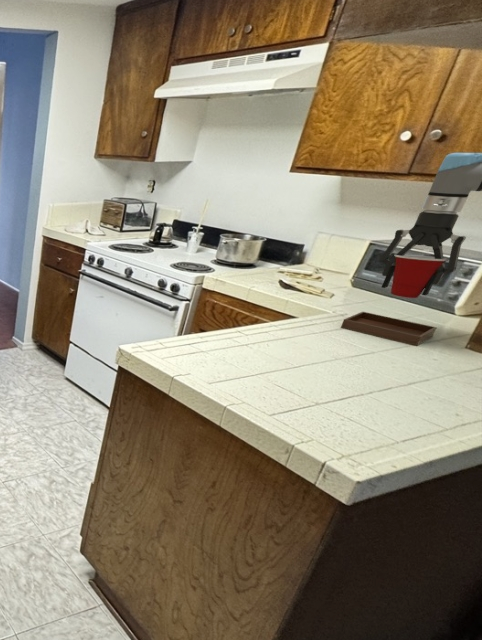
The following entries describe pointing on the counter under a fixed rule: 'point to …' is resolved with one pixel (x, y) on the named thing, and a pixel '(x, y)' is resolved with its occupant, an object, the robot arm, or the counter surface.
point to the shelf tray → (389, 328)
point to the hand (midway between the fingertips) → (404, 290)
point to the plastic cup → (413, 274)
